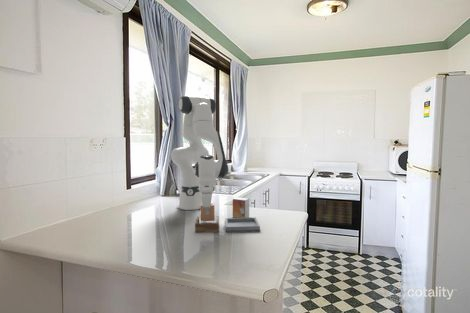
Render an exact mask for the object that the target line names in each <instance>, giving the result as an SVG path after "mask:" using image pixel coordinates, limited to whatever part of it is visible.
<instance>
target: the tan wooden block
mask: <svg viewBox="0 0 470 313" xmlns="http://www.w3.org/2000/svg"><path fill="white" fill-rule="evenodd" d="M215 211H216V210H215V203H214V202H211V207H210V208H209V215H206V211H205V208H203V204H201V208H200V222H214V221H215V216H216V214H215Z"/></svg>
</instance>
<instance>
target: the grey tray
mask: <svg viewBox="0 0 470 313" xmlns="http://www.w3.org/2000/svg"><path fill="white" fill-rule="evenodd" d="M224 222H225V223H224V224H225V232H226V233H240V232H241V233H243V232H244V233H245V232H249V233H250V232H260V230H261V228H260V224H259V221H258V219H257V217H254V216H253V217H248V218H236V217H225V218H224Z"/></svg>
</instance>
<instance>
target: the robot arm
mask: <svg viewBox="0 0 470 313" xmlns="http://www.w3.org/2000/svg"><path fill="white" fill-rule="evenodd" d="M216 102H217V101H216V99H214V98H212V97H210V96H209V97H208V96H201V95H182V96H181V97H180V99H179V102H178V107H179V108H178V109H179V111H180V112H181V113H182V114H184V116H183V127H182V128H183V129H182V137H183V139H184V140H186V141H187V142H188V144H189V146H181V147H175V148H173V149H172V150H171V153H170V159H171V161H172V163H173V164H174V165H176V166H177V167H178V169H179V172H180V174H181V181H182V183H181V187H180V190H181V193H180V194H179V198H178V199H179V202H178V205H177V206H176V209H181V210H184V211H185V210H186V211H191V210H192V211H194V210H195V211H196V210H199V209H200V210H201V204H203V208H205V211H206V215H209V208H210V207H211V203H212V197H213V194H214V192H215V191H216V190H217V184H216V183H217V180H216V179H224V178H225V177H227V175H228V174H229V165H228V162H227V159H226V154H225V149H224V145H223V141H222V138H221V134H220V132H218V131H217V130H216V129H215V126H214V119H213V118H214V117H213V114H214V113H215V112H216V109H217V103H216ZM203 140H204V141H206V142H209V143H211V144H212V145H213V146H214V148H215V153H216V157H217V159H215V157H214V156H213V155H210V153H209V150H208V149H207V147H205V145H204V144H203ZM193 165H194V167H193Z"/></svg>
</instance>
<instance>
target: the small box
mask: <svg viewBox="0 0 470 313" xmlns="http://www.w3.org/2000/svg"><path fill="white" fill-rule="evenodd" d="M232 218H250V198H247V197H246V198H245V197H237V196H236V197H234V198H232Z"/></svg>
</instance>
